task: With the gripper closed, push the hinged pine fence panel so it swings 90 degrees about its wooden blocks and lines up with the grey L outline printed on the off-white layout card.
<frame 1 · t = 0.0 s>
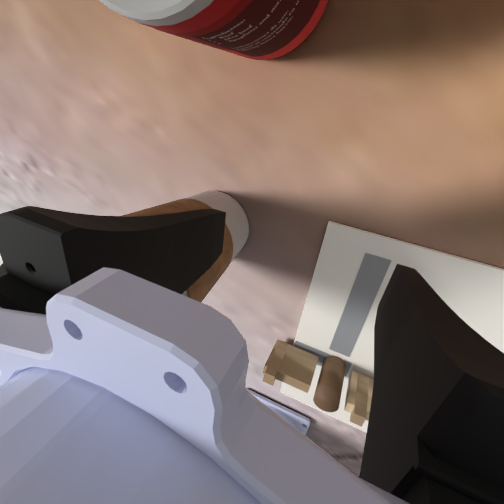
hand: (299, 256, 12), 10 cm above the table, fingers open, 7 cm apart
coffee cup: (219, 223, 25), on the table
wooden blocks: (334, 361, 27), on the table
layout card: (392, 357, 24), on the table
fence panel: (412, 421, 23), point 3 cm above the table, hinge at 0.0°
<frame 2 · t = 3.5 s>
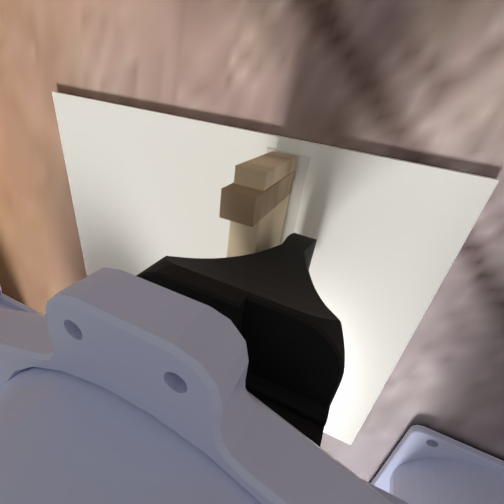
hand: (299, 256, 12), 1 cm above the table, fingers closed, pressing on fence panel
layout card: (214, 278, 16), on the table
fence panel: (248, 284, 12), point 3 cm above the table, hinge at 0.2°, touching gripper
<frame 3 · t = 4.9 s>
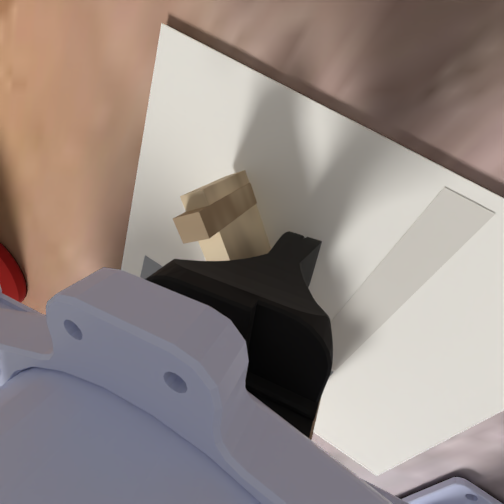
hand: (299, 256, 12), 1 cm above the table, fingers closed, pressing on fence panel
canned food: (0, 266, 26), on the table
layout card: (294, 295, 15), on the table
fence panel: (253, 299, 12), point 3 cm above the table, hinge at 43.6°, touching gripper
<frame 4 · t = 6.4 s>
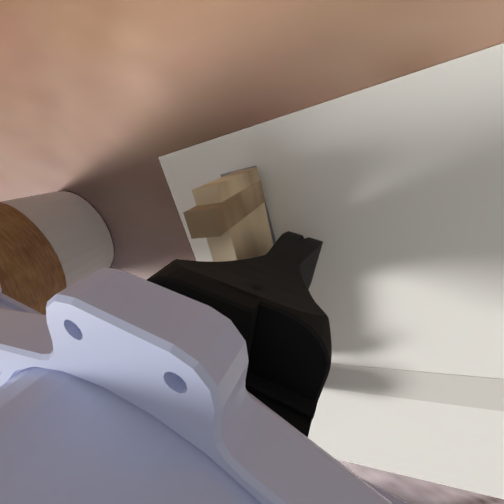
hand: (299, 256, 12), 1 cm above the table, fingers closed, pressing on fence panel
coffee cup: (82, 233, 20), on the table
layout card: (362, 328, 14), on the table
fence panel: (253, 297, 12), point 3 cm above the table, hinge at 87.1°, touching gripper
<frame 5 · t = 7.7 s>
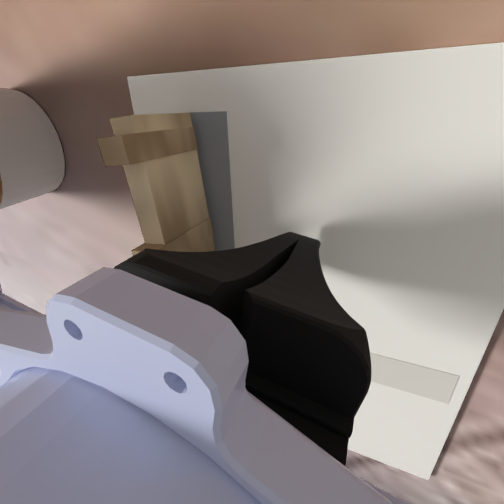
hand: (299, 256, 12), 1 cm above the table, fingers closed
coffee cup: (33, 143, 18), on the table
layout card: (294, 296, 15), on the table
fence panel: (177, 241, 13), point 3 cm above the table, hinge at 95.5°
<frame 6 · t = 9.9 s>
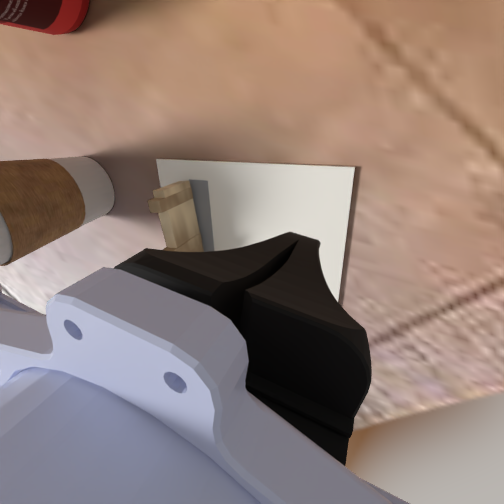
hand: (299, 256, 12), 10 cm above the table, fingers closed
coffee cup: (93, 186, 30), on the table
layout card: (248, 276, 26), on the table
fence panel: (182, 246, 24), point 3 cm above the table, hinge at 95.5°
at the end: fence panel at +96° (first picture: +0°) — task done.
